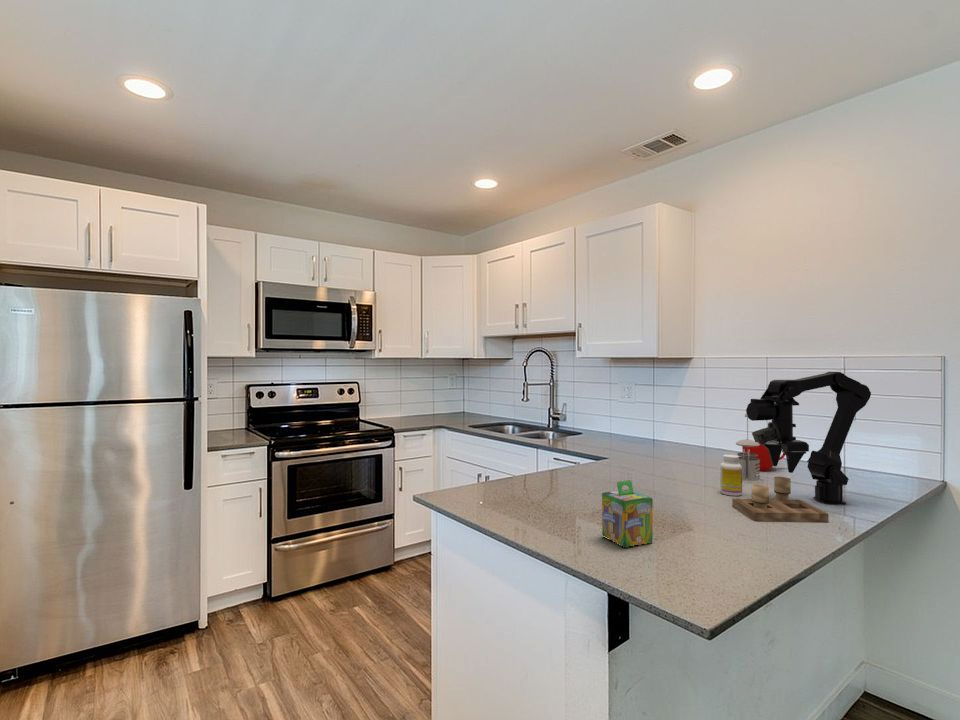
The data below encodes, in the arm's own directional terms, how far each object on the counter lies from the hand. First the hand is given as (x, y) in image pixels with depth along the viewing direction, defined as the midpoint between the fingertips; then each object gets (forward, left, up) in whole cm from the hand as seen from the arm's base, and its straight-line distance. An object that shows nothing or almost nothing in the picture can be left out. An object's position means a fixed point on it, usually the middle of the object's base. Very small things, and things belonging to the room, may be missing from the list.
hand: (782, 469), depth 157 cm
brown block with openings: (+7, +11, -11) cm, 17 cm away
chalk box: (+56, +35, -11) cm, 67 cm away
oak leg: (0, 0, -11) cm, 11 cm away
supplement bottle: (+11, -11, -11) cm, 19 cm away
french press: (-3, -30, -11) cm, 32 cm away
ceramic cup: (-19, -50, -11) cm, 54 cm away
